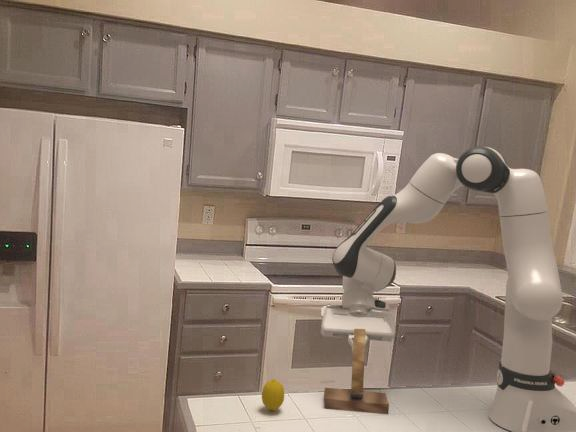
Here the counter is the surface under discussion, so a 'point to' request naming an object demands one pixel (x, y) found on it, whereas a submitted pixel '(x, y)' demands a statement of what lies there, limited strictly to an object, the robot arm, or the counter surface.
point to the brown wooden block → (355, 401)
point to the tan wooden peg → (358, 363)
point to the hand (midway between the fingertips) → (357, 352)
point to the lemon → (273, 394)
